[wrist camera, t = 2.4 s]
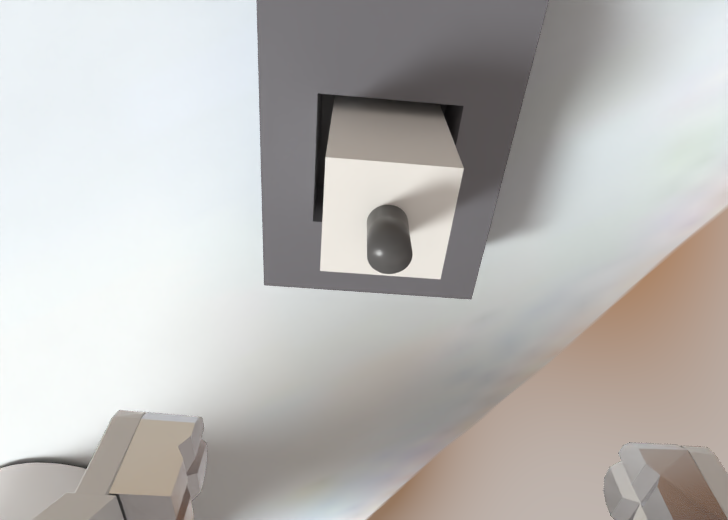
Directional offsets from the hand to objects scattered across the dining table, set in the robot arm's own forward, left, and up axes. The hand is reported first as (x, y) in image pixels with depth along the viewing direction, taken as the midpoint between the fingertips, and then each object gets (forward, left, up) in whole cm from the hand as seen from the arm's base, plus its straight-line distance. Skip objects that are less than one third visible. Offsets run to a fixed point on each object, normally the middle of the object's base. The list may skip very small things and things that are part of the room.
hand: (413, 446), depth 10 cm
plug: (0, 0, -17) cm, 17 cm away
